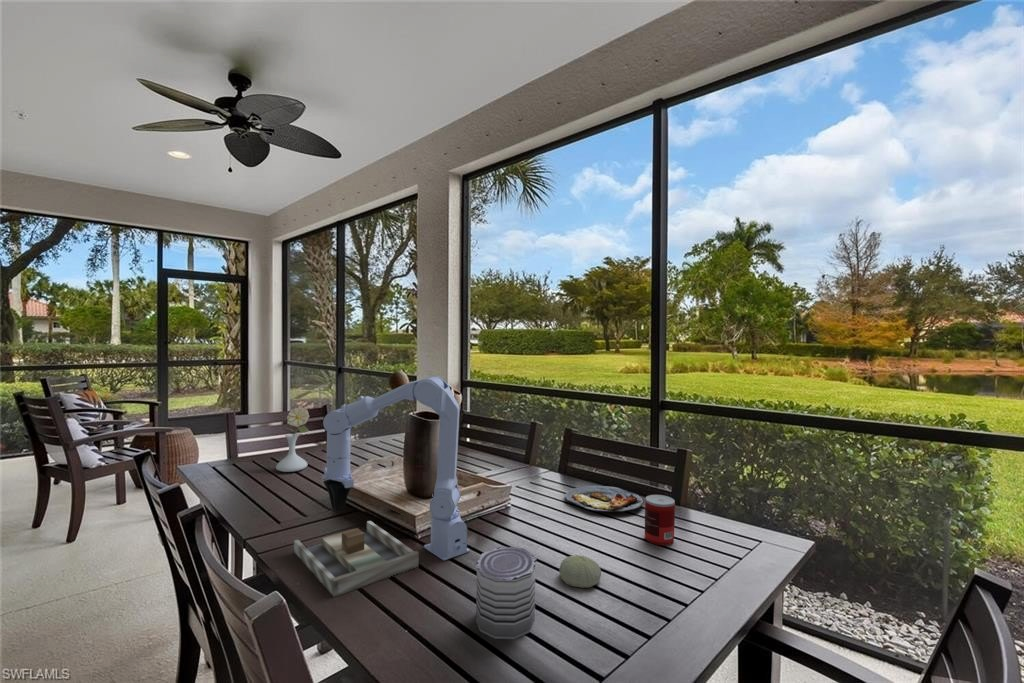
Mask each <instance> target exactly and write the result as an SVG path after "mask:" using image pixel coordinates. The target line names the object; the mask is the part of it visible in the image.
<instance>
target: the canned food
mask: <svg viewBox="0 0 1024 683" xmlns="http://www.w3.org/2000/svg"><path fill="white" fill-rule="evenodd" d="M675 502H676V501H675V499H674V498H672V497H671V496H667V495H662V494H650V495H647V496H645V500H644V539H645V540H646V541H647V542H648V543H650V544H653V545H658V546H669V545H672V543H674V541H675V540H674V539H675V520H676V519H675V517H676V514H675V513H676V503H675Z"/></svg>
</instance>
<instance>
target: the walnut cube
mask: <svg viewBox="0 0 1024 683" xmlns="http://www.w3.org/2000/svg"><path fill="white" fill-rule="evenodd" d="M363 532H364V531H362V530H361V529H360V528H358V527H357V528H354V529H353V528H352V529H349V530H345V531H342V532H341V533H342V549H343V550H344V551H345V552H346V553H347V554H352V553H355V552H358V551H362V550H364V533H363Z"/></svg>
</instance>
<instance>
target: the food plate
mask: <svg viewBox="0 0 1024 683" xmlns="http://www.w3.org/2000/svg"><path fill="white" fill-rule="evenodd" d="M565 498H566V501H569V502H571V503H573V504H575V505H577V506H580V507H583V509H587V510H591V511H594V512H599V513H602V512H603V513H624V512H628V511H633V510H637V509H640V508H641V507H642V506H643V504H645V500H644V499H643V498H642V496H639V494H638V493H635V492H632V491H628V490H626V489H623V488H620V487H615V486H608V485H607V486H603V485H583V486H577V487H575V488H570V490H568V491H567V492H566V493H565Z"/></svg>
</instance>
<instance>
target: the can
mask: <svg viewBox="0 0 1024 683" xmlns="http://www.w3.org/2000/svg"><path fill="white" fill-rule="evenodd" d="M537 559H538V558H537V557H535V555H533V554H532V553H531V552H529V551H528V550H527V549H526V548H523V547H512V546H499V547H496V548H494V549H490V550H487V551H484V552H482V553H481V555H480V556H479V558H478V560H477V562H476V564H475V565H474V566H475V568H476V598H475V602H476V604H475V605H476V607H475V609H476V610H475V617H476V618H475V621H476V625H477V627H478V629H479V632H480V633H483V634H485V635H486V636H488V637H490V638H492V639H494V640H516V639H518V638H520V637H523V636H525V635H527V634H530V632H531V630H532V629H533V626H534V624H535V616H536V615H535V614H536V613H535V610H536V562H537Z"/></svg>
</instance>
